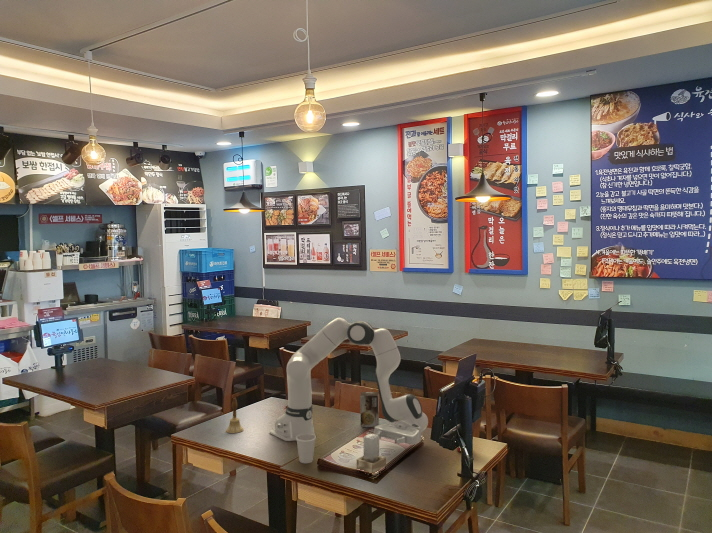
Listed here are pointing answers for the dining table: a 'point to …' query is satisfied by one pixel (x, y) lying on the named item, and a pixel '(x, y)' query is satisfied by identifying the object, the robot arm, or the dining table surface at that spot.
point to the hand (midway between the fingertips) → (386, 439)
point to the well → (371, 464)
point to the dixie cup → (306, 447)
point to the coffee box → (369, 409)
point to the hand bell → (234, 420)
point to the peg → (371, 448)
